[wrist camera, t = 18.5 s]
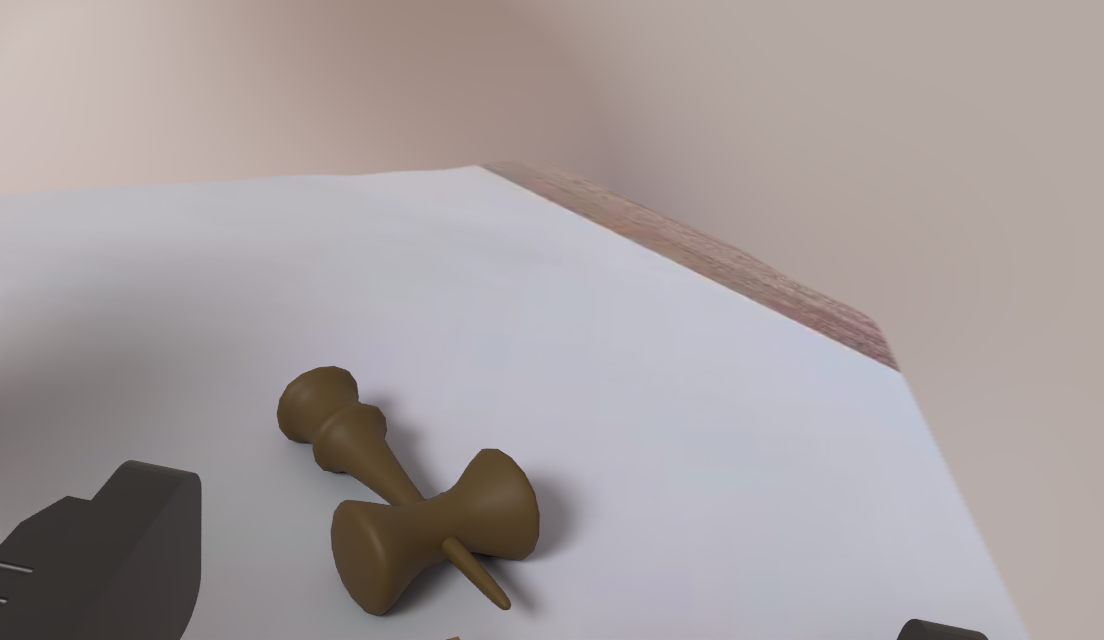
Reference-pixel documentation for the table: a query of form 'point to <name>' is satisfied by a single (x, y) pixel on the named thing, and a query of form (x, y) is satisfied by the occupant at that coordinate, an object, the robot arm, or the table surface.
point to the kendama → (405, 498)
